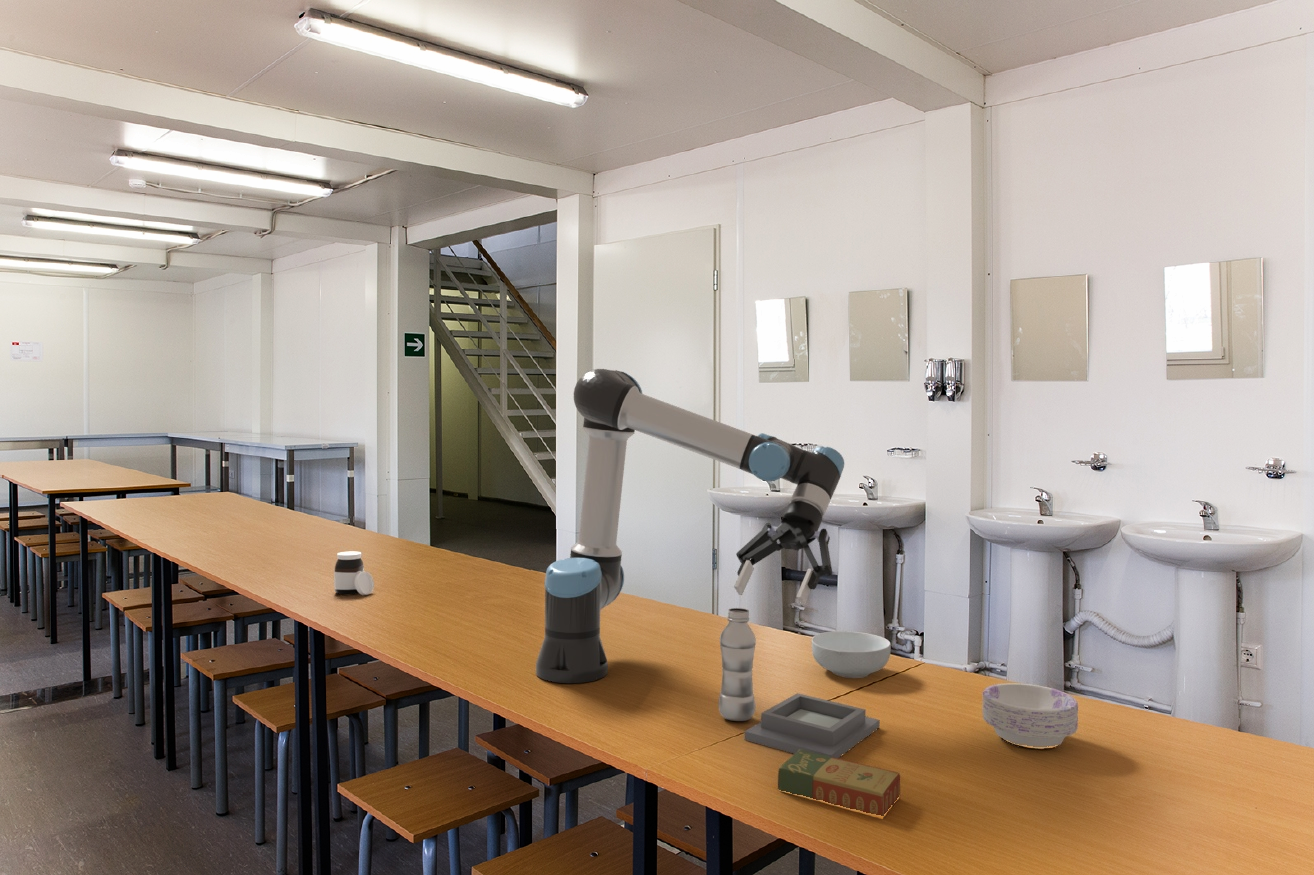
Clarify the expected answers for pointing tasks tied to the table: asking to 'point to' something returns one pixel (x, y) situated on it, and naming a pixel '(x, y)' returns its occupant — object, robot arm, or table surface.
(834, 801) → the carton
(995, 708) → the paper bowls
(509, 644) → the table surface
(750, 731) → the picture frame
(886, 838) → the table surface
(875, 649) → the cereal bowl
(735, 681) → the plastic bottle
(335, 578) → the spread jar
